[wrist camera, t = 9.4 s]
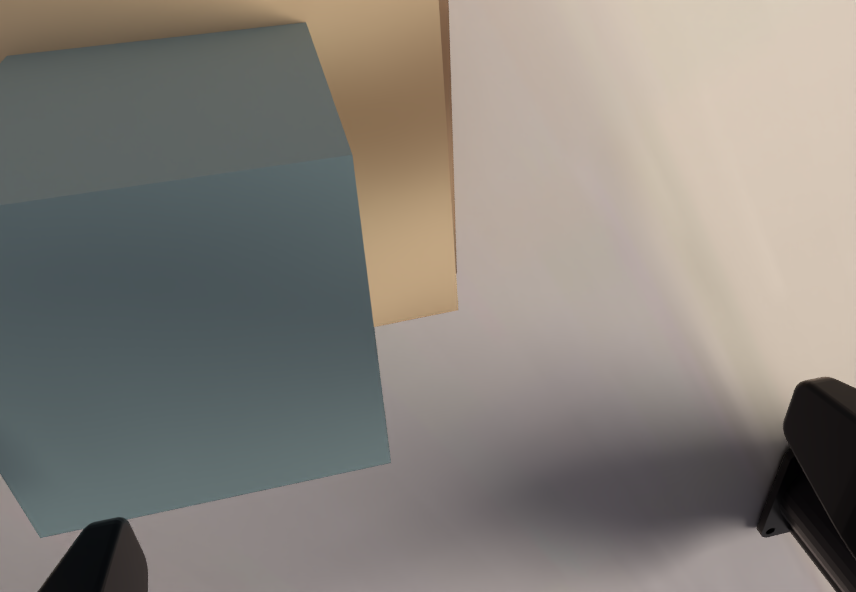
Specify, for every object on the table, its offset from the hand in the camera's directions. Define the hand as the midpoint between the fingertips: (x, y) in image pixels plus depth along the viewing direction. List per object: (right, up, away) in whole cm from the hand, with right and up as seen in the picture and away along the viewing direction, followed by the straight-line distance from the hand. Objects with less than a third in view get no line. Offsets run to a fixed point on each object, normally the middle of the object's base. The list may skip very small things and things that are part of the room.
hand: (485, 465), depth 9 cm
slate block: (-5, +5, +4) cm, 8 cm away
